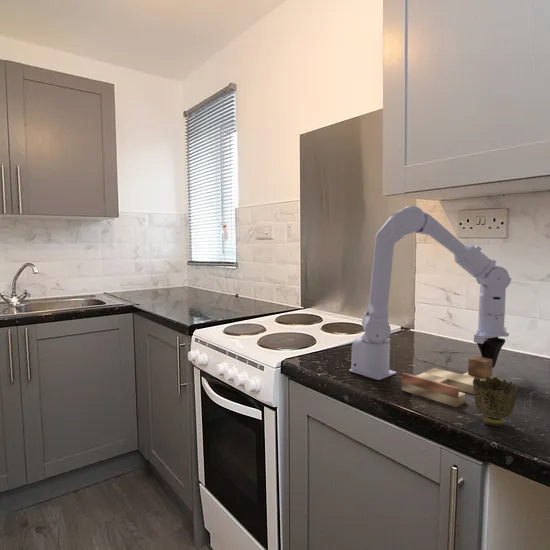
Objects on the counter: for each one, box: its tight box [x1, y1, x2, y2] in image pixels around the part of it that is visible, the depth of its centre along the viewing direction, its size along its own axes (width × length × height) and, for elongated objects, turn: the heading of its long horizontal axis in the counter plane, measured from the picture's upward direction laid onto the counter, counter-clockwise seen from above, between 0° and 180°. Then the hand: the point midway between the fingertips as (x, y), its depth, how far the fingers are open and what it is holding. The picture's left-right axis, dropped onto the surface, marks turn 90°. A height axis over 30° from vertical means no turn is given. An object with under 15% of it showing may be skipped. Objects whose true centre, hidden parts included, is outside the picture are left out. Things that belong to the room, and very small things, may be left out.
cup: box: [473, 376, 518, 427], centre depth 76 cm, size 8×7×8 cm
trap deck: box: [401, 367, 498, 408], centre depth 96 cm, size 13×21×4 cm, turn 130°
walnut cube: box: [467, 355, 493, 379], centre depth 98 cm, size 4×4×4 cm
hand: (489, 366), depth 101 cm, fingers closed
